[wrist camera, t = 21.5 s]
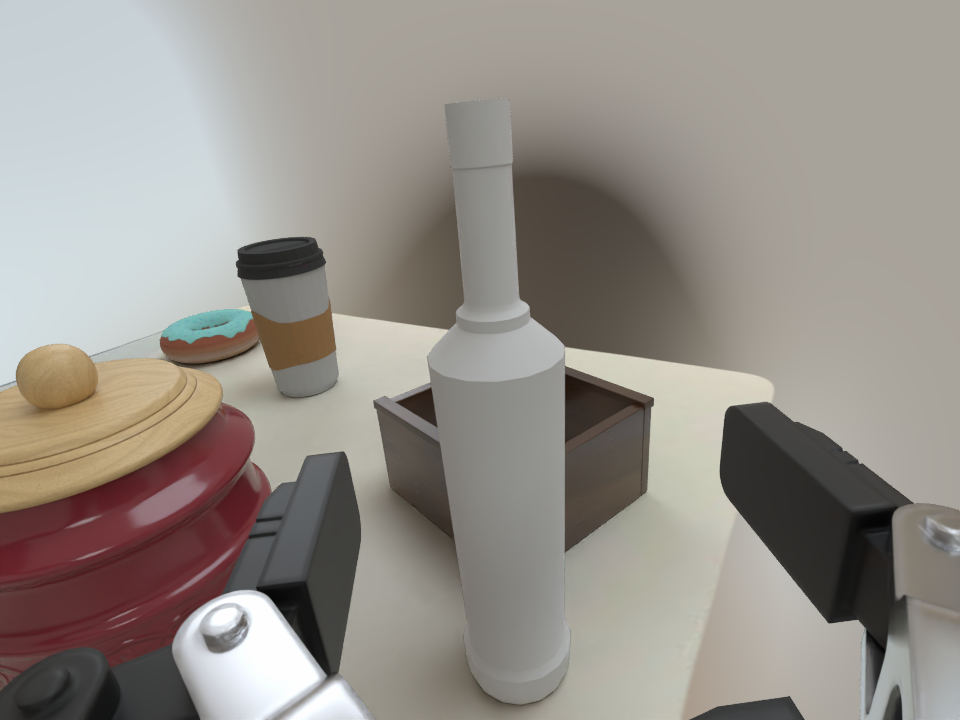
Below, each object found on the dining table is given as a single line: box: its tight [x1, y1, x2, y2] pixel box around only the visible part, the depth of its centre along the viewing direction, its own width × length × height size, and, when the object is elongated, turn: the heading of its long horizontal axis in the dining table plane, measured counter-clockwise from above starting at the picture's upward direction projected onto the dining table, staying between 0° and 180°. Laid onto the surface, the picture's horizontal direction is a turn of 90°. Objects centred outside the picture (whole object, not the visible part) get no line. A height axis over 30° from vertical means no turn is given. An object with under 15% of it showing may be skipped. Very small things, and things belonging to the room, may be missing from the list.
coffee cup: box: [236, 237, 339, 397], centre depth 56 cm, size 8×8×15 cm
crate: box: [373, 366, 654, 552], centre depth 38 cm, size 14×13×7 cm
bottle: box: [427, 99, 571, 705], centre depth 22 cm, size 5×5×25 cm
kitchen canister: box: [0, 344, 272, 691], centre depth 25 cm, size 13×13×18 cm
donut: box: [160, 309, 260, 364], centre depth 71 cm, size 12×12×4 cm
